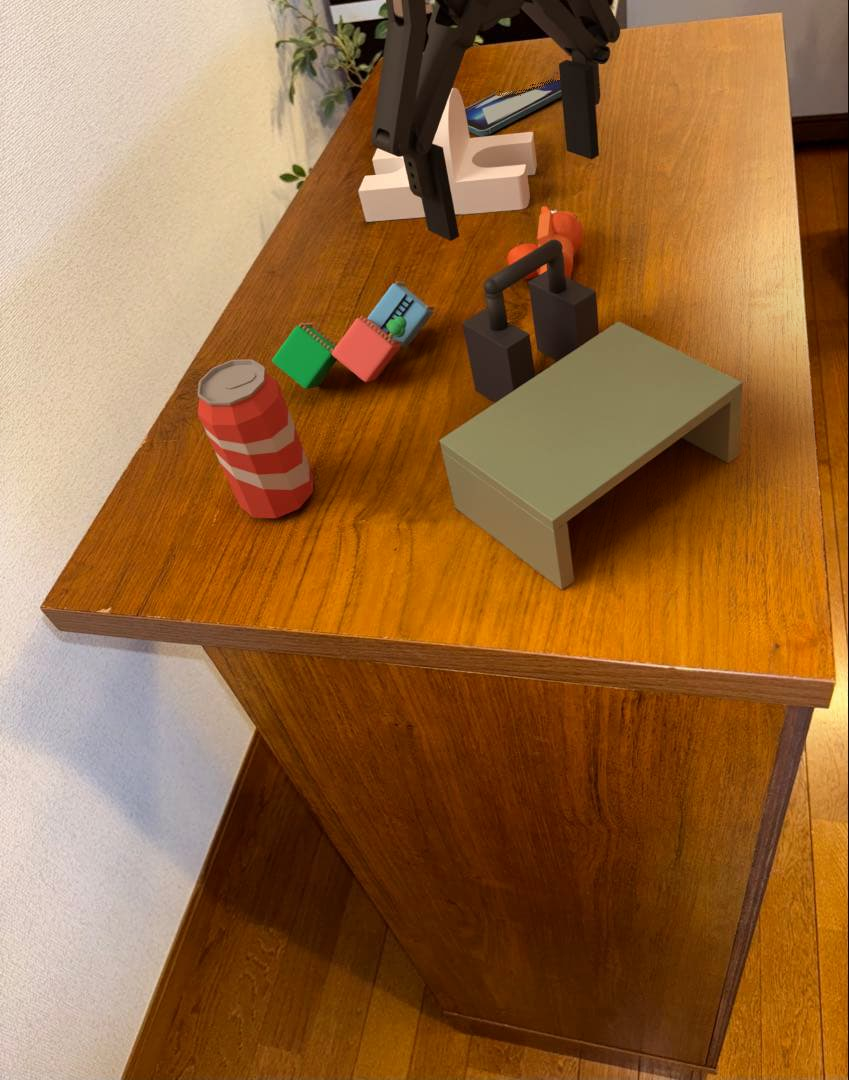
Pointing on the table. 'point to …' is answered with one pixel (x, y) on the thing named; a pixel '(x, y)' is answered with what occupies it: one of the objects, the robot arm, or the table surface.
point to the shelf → (583, 439)
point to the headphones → (557, 317)
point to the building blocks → (355, 340)
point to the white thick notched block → (456, 172)
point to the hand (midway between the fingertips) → (515, 192)
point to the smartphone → (508, 107)
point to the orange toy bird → (550, 228)
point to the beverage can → (254, 438)
